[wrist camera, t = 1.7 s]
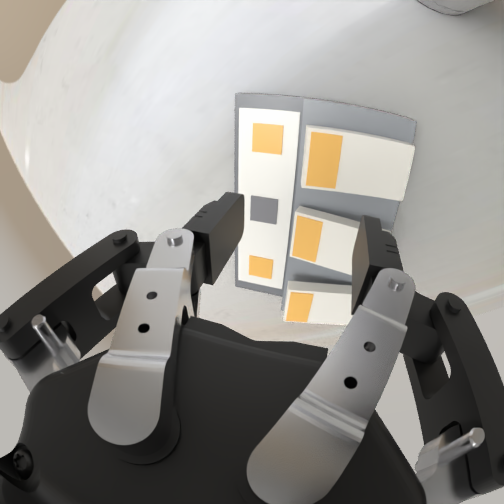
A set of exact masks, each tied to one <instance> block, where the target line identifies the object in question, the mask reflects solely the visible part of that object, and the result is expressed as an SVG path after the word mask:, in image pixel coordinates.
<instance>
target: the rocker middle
mask: <svg viewBox="0 0 504 504" xmlns="http://www.w3.org/2000/svg"><path fill="white" fill-rule="evenodd" d="M359 225H360V222H358V221H355V220H351V219H348V218H344V217H341V216H337V215H333V214H330V213H326V212H322V211H318V210H314V209H311V208H307V207H303V206H299V207H298V208H297V210H296V211H295V215H294V224H293V232H292V240H291V248H290V257H293V258H297V259H300V260H303V261H307V262H310V263H313V264H316V265H320V266H323V267H326V268H329V269H333V270H336V271H339V272H342V273H345V274H349V275H352V254H353V249H354V245H355V241H356V237H357V233H358V229H359ZM382 230H383V231H387V232H390V234H391V235H392V231H389V230H385V229H382Z"/></svg>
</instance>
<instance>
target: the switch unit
mask: <svg viewBox="0 0 504 504" xmlns="http://www.w3.org/2000/svg"><path fill="white" fill-rule="evenodd" d="M416 124H417V122H416V121H414V120H412V119H410V118H408V117H404V116H401V115H397V114H393V113H389V112H385V111H381V110H376V109H372V108H367V107H363V106H358V105H352V104H347V103H341V102H335V101H329V100H322V99H314V98H306V97H297V96H286V95H273V94H253V93H235V193H239V194H243V195H244V198H245V210H244V232H243V236H242V238H241V240H240V242H239V243H238V245H237V247H236V248H235V286H236V287H241V288H245V289H249V290H254V291H258V292H263V293H268V294H272V295H277V296H282V297H283V299H282V306H281V310H282V311H284V306H285V299H286V293H287V286H288V281H299V282H312V283H324V284H338V285H352V275H349V274H345V273H342V272H339V271H336V270H333V269H329V268H326V267H323V266H320V265H316V264H313V263H310V262H307V261H303V260H300V259H297V258H293V257H290V248H291V240H292V232H293V224H294V215H295V211H296V210H297V208H298V207H299V206H303V207H307V208H311V209H314V210H318V211H322V212H326V213H330V214H333V215H337V216H341V217H344V218H348V219H351V220H355V221H358V222H360V221H361V218H362V215H366V216H371V217H376V218H379V219H380V222H381V227H382V229H385V230H389V231H391V230H392V227H393V224H394V220H395V217H396V213H397V210H398V206H399V203H400V201H397V200H391V199H385V198H379V197H372V196H365V195H358V194H351V193H343V192H335V191H326V190H318V189H308V188H302V187H301V175H302V165H303V155H304V144H305V133H306V125H315V126H323V127H330V128H337V129H344V130H350V131H356V132H362V133H367V134H372V135H377V136H382V137H387V138H391V139H396V140H400V141H404V142H408V143H410V144H412V145H413V141H414V136H415V130H416Z"/></svg>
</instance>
